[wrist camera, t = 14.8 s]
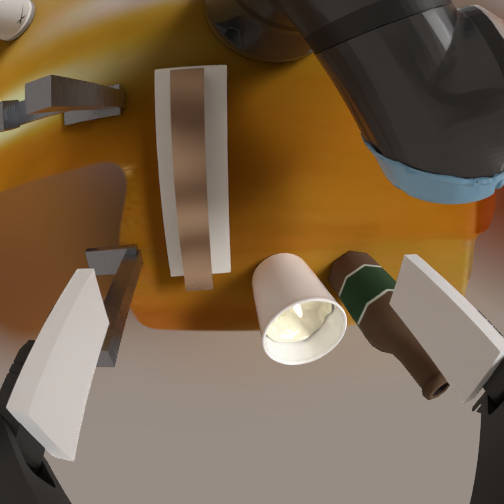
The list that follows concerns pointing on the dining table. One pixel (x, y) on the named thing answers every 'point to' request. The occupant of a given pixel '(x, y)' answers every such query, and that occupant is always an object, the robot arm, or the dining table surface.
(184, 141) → the walnut bar
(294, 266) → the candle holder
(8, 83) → the dining table surface
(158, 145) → the grey mat
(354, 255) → the beer bottle
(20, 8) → the travel mug
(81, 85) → the hook rack
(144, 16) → the dining table surface
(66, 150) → the dining table surface
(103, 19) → the dining table surface
